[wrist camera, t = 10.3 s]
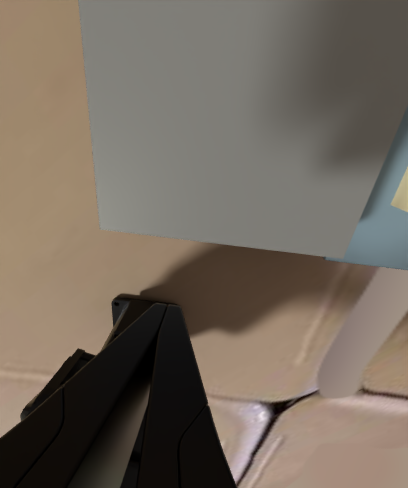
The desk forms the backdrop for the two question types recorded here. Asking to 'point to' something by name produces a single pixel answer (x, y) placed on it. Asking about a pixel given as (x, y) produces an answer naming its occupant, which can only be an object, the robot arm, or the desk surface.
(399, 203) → the maple block
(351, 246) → the slate-blue mat
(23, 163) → the desk surface
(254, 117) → the gray deck
